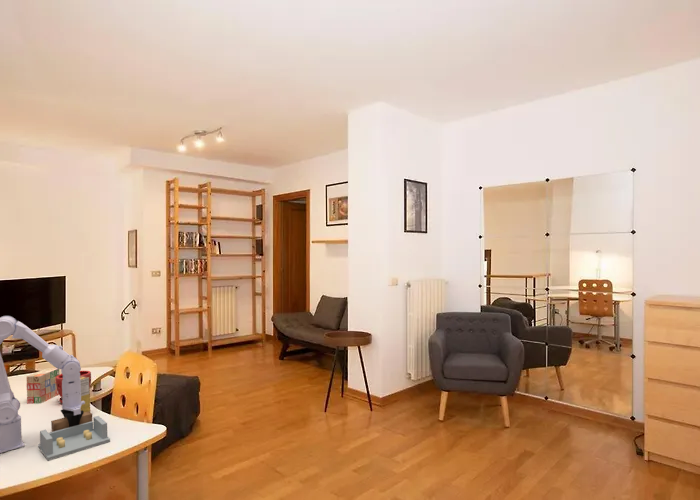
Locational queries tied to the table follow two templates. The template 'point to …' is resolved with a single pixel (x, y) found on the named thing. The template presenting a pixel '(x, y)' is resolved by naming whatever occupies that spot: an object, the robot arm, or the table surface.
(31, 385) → the stack of blocks
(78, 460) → the table surface
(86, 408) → the candy box
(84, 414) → the board
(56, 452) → the peg stand
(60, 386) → the plant pot
